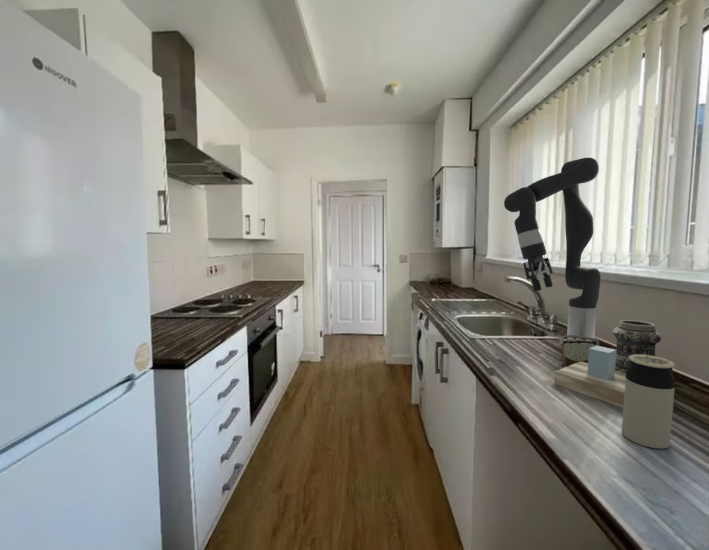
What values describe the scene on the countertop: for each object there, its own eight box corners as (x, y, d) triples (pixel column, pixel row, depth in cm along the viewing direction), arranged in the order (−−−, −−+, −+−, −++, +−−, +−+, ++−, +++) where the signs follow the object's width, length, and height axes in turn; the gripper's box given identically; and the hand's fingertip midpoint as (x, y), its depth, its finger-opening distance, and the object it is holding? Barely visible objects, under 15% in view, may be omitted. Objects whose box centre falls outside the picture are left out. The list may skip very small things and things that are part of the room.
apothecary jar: (650, 373, 110) (654, 320, 108) (665, 388, 99) (670, 328, 97) (605, 368, 115) (608, 316, 113) (615, 381, 104) (618, 324, 102)
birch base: (579, 373, 111) (580, 361, 111) (648, 393, 96) (650, 379, 96) (554, 384, 103) (554, 371, 102) (625, 408, 87) (626, 393, 87)
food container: (587, 361, 121) (589, 334, 120) (597, 368, 115) (599, 339, 114) (551, 360, 123) (553, 334, 122) (560, 367, 117) (561, 339, 116)
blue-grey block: (595, 371, 102) (596, 345, 102) (614, 376, 98) (616, 349, 97) (587, 374, 100) (588, 348, 99) (607, 380, 95) (608, 353, 95)
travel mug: (674, 454, 68) (681, 369, 67) (624, 442, 73) (630, 362, 71) (664, 435, 75) (670, 357, 73) (619, 425, 79) (624, 351, 78)
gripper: (532, 242, 111) (545, 290, 110) (551, 239, 120) (564, 284, 118) (511, 248, 117) (523, 293, 116) (530, 245, 126) (542, 287, 124)
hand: (544, 288), depth 117 cm, fingers open, 8 cm apart
